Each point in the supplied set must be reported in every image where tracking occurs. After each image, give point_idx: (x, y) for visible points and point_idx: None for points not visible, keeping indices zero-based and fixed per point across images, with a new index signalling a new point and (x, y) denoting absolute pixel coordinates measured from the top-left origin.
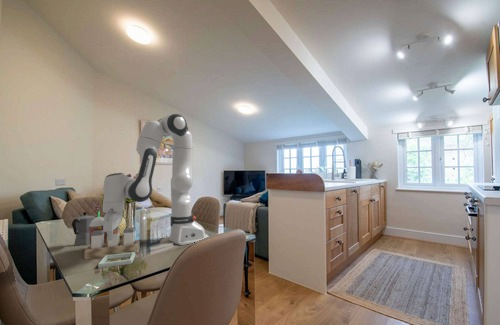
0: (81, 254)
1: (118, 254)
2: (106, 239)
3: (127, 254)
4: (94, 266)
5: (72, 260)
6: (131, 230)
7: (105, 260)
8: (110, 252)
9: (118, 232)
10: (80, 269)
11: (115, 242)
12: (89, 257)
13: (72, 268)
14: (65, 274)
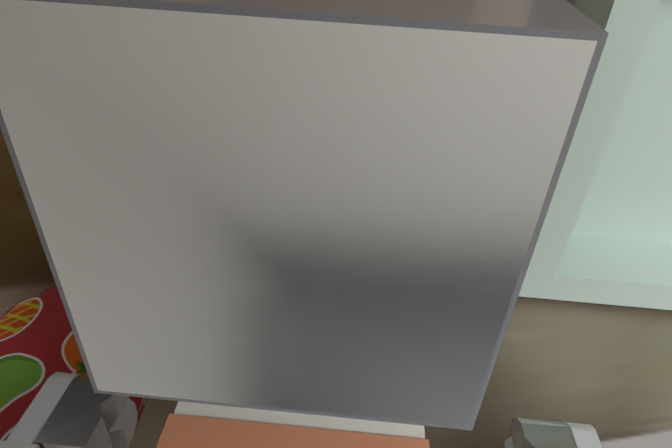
0: (149, 418)
1: (595, 152)
2: (10, 385)
3: (649, 5)
4: (562, 308)
5: None
6: (545, 125)
7: (631, 263)
8: None
9: (347, 445)
10: (564, 382)
11: None
12: None
13: (494, 423)
14: (608, 438)
